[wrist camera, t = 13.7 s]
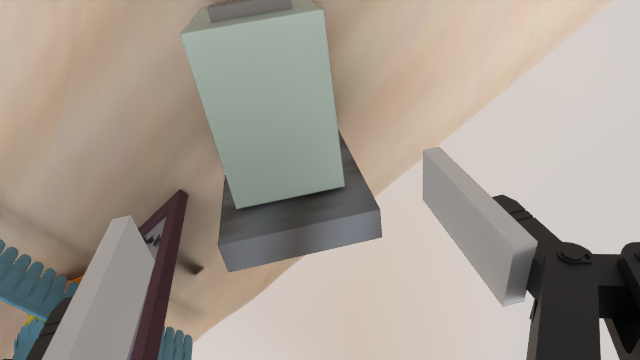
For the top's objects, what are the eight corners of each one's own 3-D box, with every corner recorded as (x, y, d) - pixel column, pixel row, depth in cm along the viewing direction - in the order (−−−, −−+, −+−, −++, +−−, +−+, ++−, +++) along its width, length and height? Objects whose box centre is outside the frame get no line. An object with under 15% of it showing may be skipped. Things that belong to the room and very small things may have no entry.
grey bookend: (235, 154, 41) (228, 272, 25) (199, 36, 34) (160, 101, 19) (332, 133, 41) (382, 237, 26) (315, 14, 35) (369, 60, 19)
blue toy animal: (-56, 243, 40) (-195, 377, 28) (-9, 197, 38) (-136, 316, 26) (157, 344, 54) (129, 463, 41) (198, 313, 52) (183, 428, 40)
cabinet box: (239, 139, 37) (236, 209, 26) (199, -3, 30) (174, 18, 20) (318, 123, 37) (344, 186, 27) (296, -20, 30) (321, -7, 20)
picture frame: (180, 188, 42) (111, 427, 21) (244, 233, 46) (243, 463, 25) (92, 272, 46) (-41, 543, 25) (160, 305, 50) (98, 556, 29)
